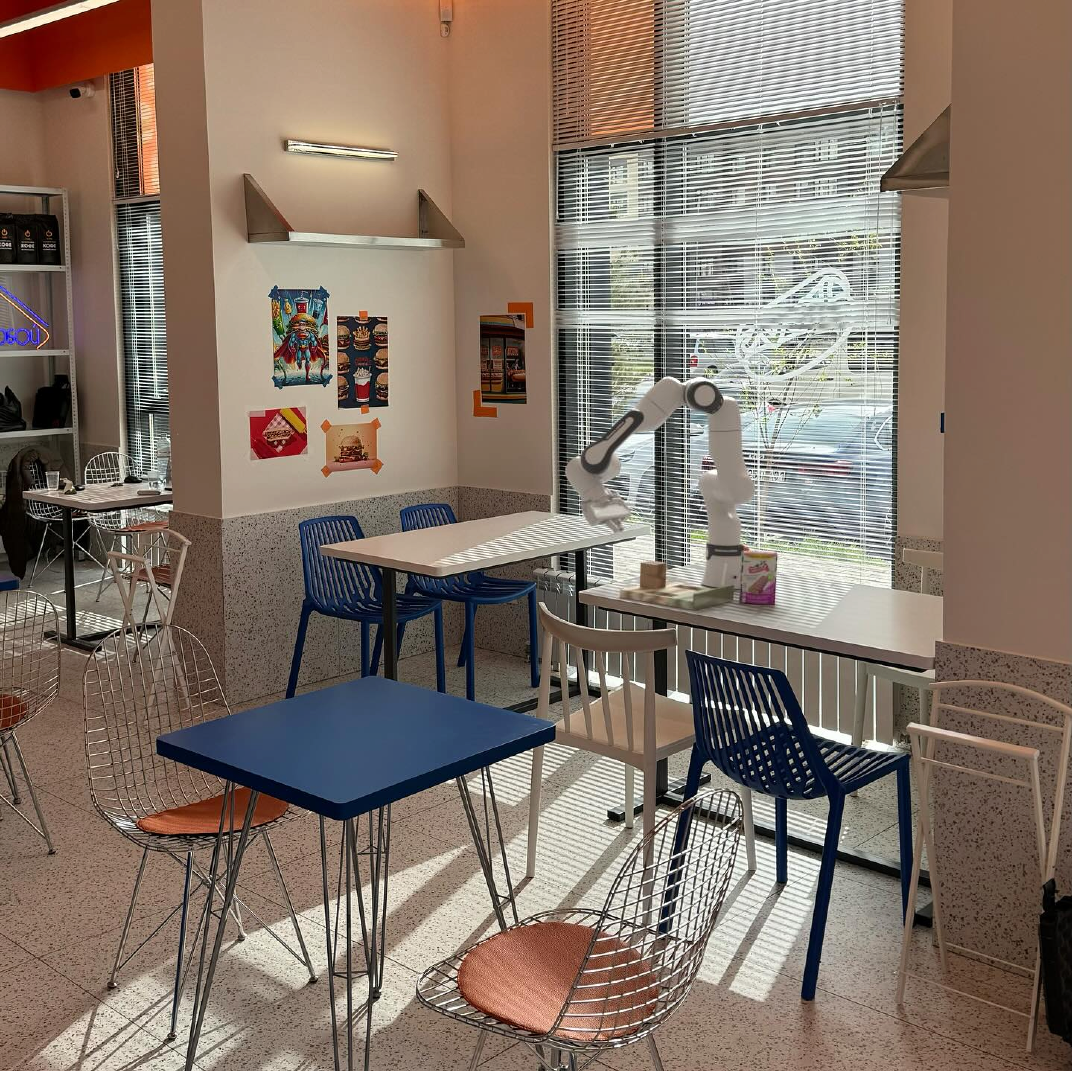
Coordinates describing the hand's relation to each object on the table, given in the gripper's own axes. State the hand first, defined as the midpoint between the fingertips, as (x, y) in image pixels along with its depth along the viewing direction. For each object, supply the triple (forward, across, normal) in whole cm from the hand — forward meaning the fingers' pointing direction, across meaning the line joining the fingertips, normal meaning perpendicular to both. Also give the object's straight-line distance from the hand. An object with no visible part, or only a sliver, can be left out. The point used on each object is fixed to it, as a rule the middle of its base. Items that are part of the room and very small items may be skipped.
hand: (619, 531), depth 413 cm
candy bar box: (+46, +12, -18) cm, 51 cm away
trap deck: (+30, 0, -3) cm, 30 cm away
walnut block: (+22, 0, +2) cm, 22 cm away
